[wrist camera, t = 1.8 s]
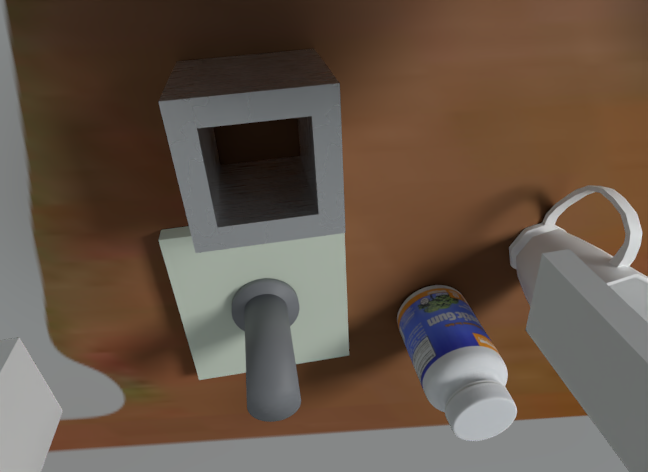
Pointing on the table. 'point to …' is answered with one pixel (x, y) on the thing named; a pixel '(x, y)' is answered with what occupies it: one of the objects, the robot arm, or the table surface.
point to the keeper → (261, 311)
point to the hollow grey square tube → (264, 175)
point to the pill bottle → (456, 362)
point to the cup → (585, 250)
